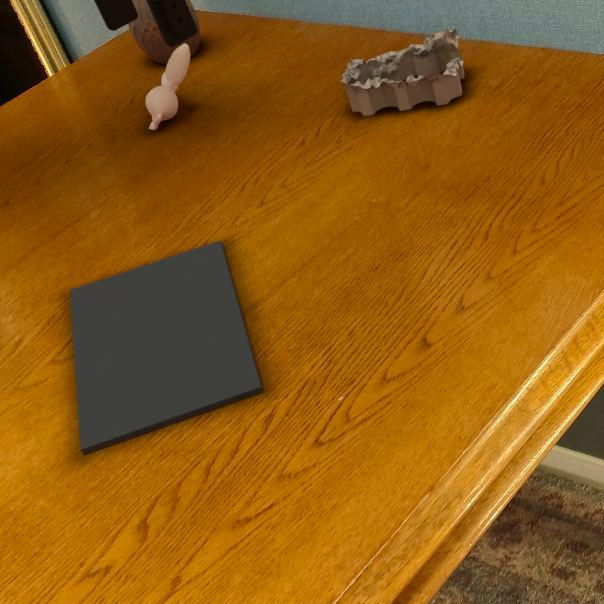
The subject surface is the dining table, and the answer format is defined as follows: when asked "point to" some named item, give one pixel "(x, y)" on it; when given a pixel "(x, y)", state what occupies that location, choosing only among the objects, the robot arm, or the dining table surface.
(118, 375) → the mat
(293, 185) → the dining table surface
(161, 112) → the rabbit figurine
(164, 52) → the vase
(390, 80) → the egg carton
